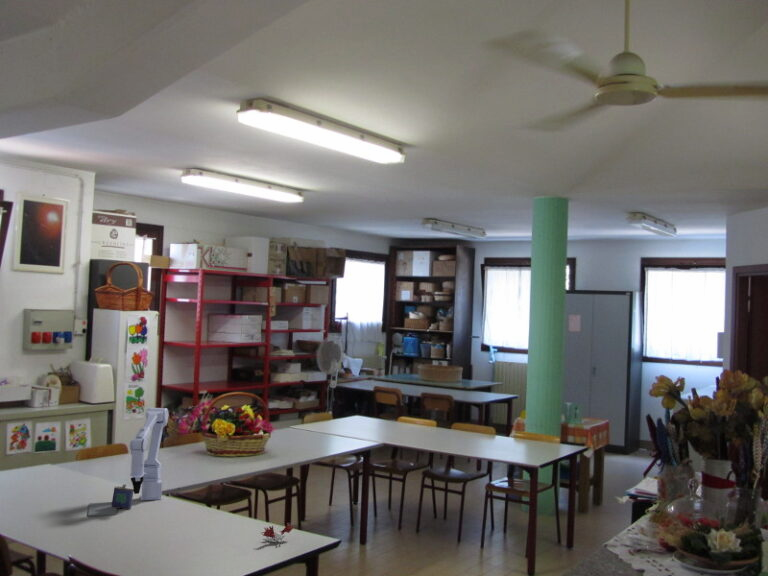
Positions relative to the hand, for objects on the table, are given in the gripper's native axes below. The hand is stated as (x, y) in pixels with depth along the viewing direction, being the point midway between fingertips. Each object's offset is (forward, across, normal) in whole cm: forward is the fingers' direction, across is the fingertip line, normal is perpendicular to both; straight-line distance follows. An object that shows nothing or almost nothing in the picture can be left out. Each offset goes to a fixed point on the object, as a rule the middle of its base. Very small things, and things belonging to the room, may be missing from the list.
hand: (136, 493), depth 337 cm
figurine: (+8, -63, -52) cm, 82 cm away
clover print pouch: (+6, 0, +6) cm, 9 cm away
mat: (+7, 0, +14) cm, 16 cm away
